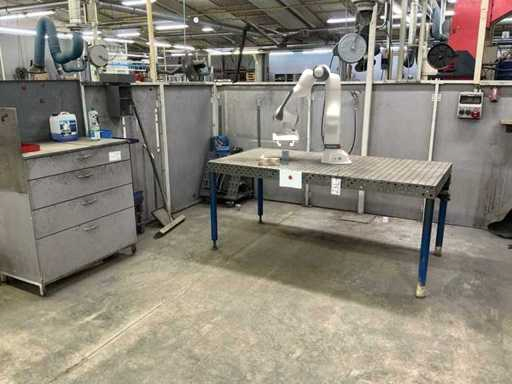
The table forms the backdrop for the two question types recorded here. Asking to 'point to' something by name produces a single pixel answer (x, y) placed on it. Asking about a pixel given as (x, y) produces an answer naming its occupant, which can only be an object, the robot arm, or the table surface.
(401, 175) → the table surface
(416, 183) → the table surface
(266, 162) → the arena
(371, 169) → the table surface
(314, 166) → the table surface
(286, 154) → the bracket
